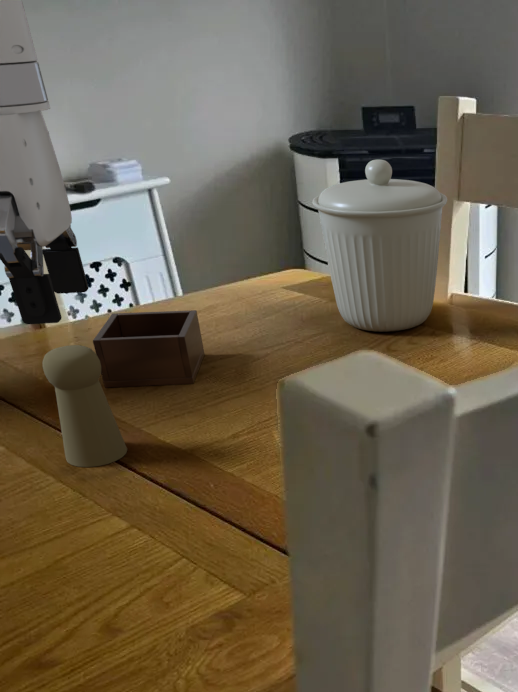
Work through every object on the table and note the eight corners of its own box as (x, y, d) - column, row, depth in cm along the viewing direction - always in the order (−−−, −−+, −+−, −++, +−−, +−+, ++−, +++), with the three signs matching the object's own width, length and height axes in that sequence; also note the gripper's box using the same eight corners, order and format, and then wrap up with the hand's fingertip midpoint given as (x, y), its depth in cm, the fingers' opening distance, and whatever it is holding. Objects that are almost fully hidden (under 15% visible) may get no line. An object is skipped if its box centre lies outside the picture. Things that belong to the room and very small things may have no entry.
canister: (402, 350, 110) (395, 175, 98) (298, 328, 118) (279, 163, 106) (470, 314, 123) (472, 155, 110) (372, 297, 131) (363, 146, 118)
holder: (104, 387, 100) (92, 340, 97) (122, 357, 109) (112, 313, 105) (193, 383, 101) (184, 336, 98) (204, 354, 110) (196, 310, 106)
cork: (65, 446, 87) (34, 343, 81) (125, 437, 89) (99, 335, 82) (65, 471, 82) (32, 363, 76) (128, 461, 84) (101, 355, 78)
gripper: (-16, 84, 73) (43, 284, 83) (-99, 101, 59) (-16, 338, 69) (71, 82, 74) (119, 280, 84) (9, 98, 60) (76, 333, 70)
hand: (58, 306), depth 77 cm, fingers open, 9 cm apart
